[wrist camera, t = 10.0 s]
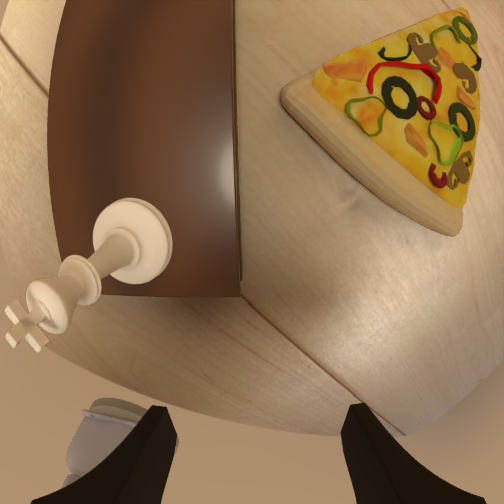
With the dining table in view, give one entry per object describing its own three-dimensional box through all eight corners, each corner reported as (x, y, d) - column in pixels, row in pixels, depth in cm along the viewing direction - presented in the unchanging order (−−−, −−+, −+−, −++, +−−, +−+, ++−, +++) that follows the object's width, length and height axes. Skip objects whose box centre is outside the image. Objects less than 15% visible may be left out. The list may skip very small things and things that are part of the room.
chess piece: (134, 295, 16) (45, 415, 6) (84, 234, 15) (-40, 310, 5) (190, 248, 15) (104, 378, 5) (134, 179, 14) (-16, 220, 4)
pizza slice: (263, 119, 15) (264, 111, 13) (389, -42, 10) (401, -58, 7) (435, 249, 18) (457, 263, 15) (512, 74, 12) (531, 71, 9)
